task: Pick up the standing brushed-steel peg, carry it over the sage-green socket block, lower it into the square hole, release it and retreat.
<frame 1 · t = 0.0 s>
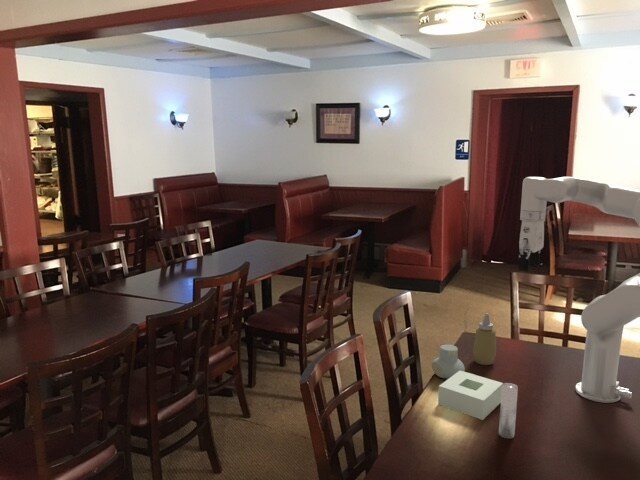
hand: (528, 267, 176), 37 cm above the table, tool pointing down, fingers open, 9 cm apart
squeeze bottle: (483, 362, 192), on the table
steel peg: (506, 434, 146), on the table
air freshener: (447, 376, 181), on the table
socket block: (470, 403, 163), on the table
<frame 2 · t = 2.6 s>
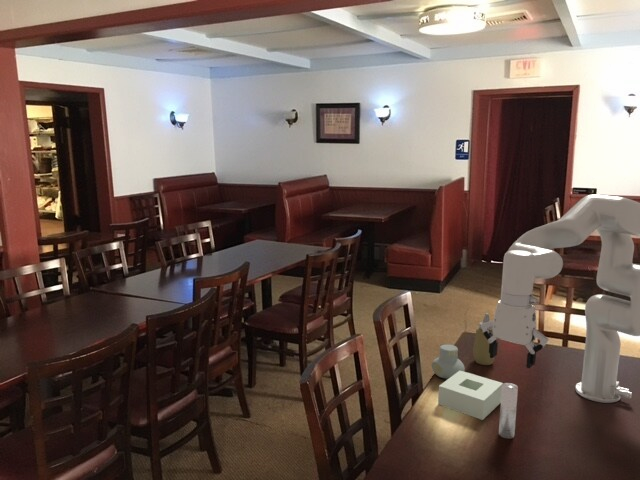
hand: (511, 361, 142), 21 cm above the table, tool pointing down, fingers open, 9 cm apart
nothing on the table moved.
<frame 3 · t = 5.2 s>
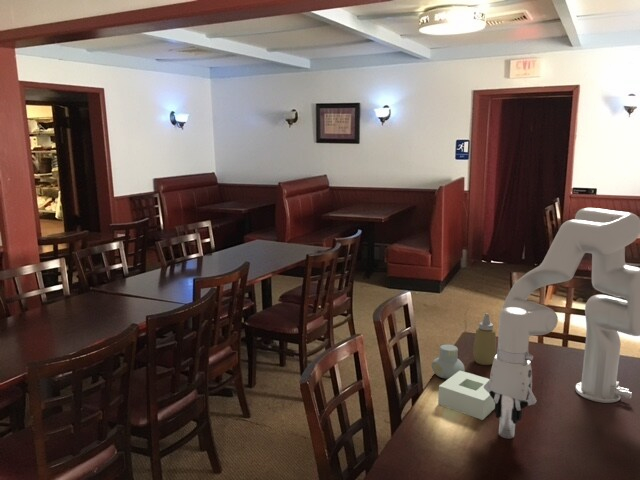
hand: (507, 418, 145), 5 cm above the table, tool pointing down, fingers closed on steel peg, 4 cm apart
steel peg: (506, 434, 146), on the table, touching gripper
everything else where it was.
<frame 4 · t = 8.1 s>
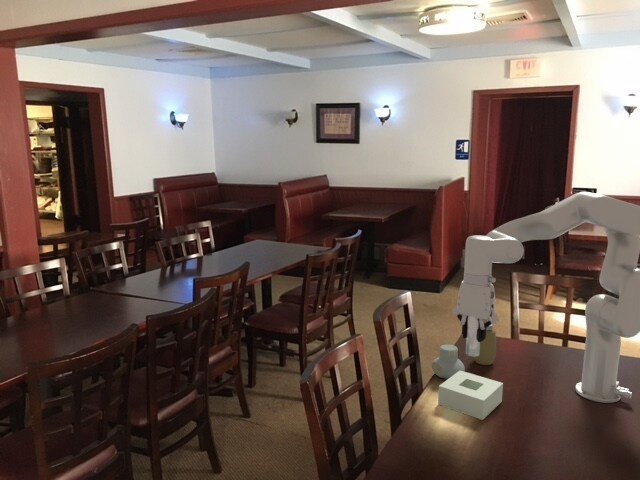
hand: (473, 338, 159), 21 cm above the table, tool pointing down, fingers closed on steel peg, 4 cm apart
steel peg: (472, 353, 160), point 16 cm above the table, touching gripper
everything else where it was.
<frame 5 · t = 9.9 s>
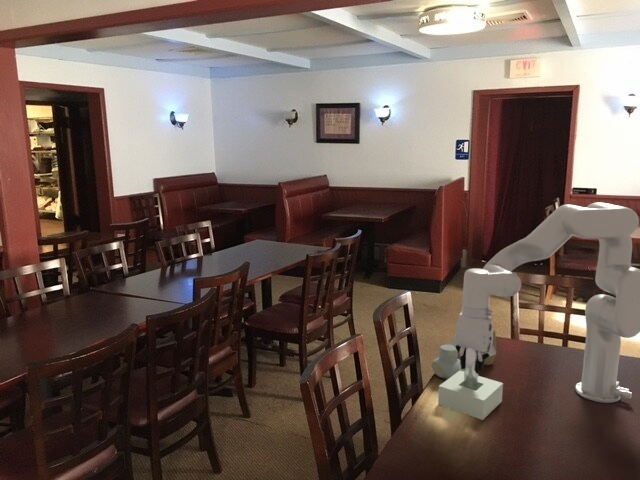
hand: (471, 369, 161), 11 cm above the table, tool pointing down, fingers closed on steel peg, 4 cm apart
steel peg: (470, 384, 161), point 6 cm above the table, touching gripper
everything else where it was.
when the fingers open (7 cm above the table, at t = 11.3 s): steel peg stays where it is, resting on socket block.
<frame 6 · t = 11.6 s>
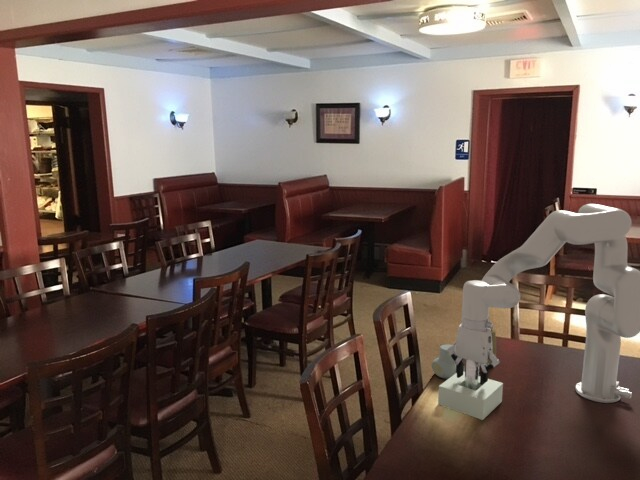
hand: (471, 379, 161), 8 cm above the table, tool pointing down, fingers open, 6 cm apart
steel peg: (470, 398, 162), point 2 cm above the table, touching socket block
everything else where it was.
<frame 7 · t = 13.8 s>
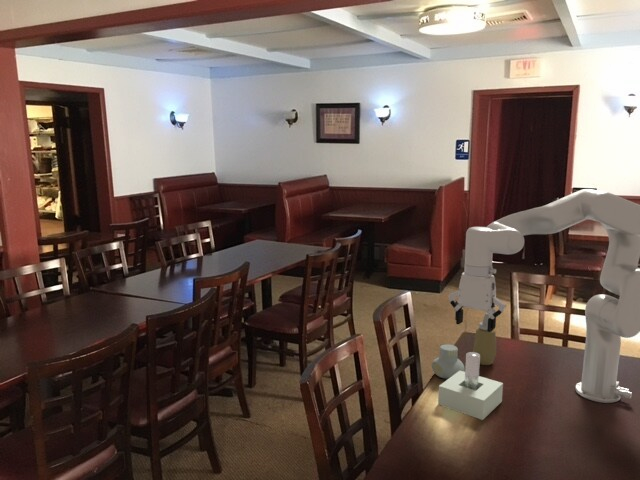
hand: (474, 326, 158), 24 cm above the table, tool pointing down, fingers open, 9 cm apart
nothing on the table moved.
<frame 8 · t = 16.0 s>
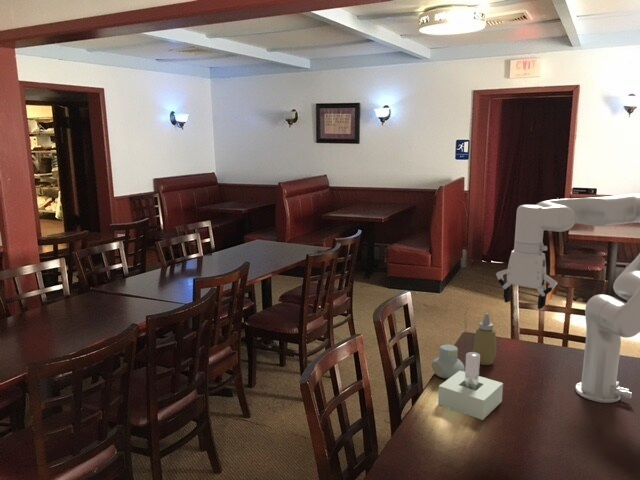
hand: (523, 304, 159), 30 cm above the table, tool pointing down, fingers open, 9 cm apart
nothing on the table moved.
at the end: steel peg 0.0 cm off-centre on the socket block, point 1.5 cm above the socket block's base; steel peg tilted 0°; the gripper is holding nothing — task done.
